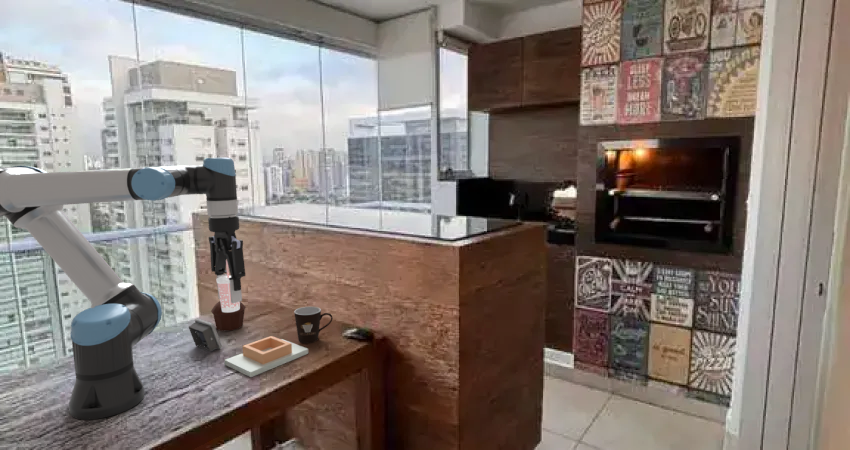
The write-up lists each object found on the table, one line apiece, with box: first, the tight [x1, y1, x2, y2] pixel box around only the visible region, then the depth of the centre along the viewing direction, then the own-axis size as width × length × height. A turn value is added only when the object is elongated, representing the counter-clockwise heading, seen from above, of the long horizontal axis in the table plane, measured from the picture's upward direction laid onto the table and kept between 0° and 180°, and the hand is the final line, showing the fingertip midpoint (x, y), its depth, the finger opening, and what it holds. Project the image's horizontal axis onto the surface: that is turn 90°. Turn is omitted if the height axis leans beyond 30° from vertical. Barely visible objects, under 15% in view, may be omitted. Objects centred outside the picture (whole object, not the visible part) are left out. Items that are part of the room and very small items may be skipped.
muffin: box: [211, 300, 247, 332], centre depth 165 cm, size 12×11×10 cm
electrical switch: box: [188, 318, 223, 353], centre depth 146 cm, size 9×5×9 cm, turn 57°
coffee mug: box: [293, 306, 333, 344], centre depth 154 cm, size 12×9×10 cm
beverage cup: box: [215, 259, 241, 313], centre depth 126 cm, size 6×6×14 cm
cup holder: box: [224, 335, 309, 378], centre depth 139 cm, size 20×13×4 cm, turn 144°
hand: (230, 299), depth 127 cm, fingers closed on beverage cup, 6 cm apart
